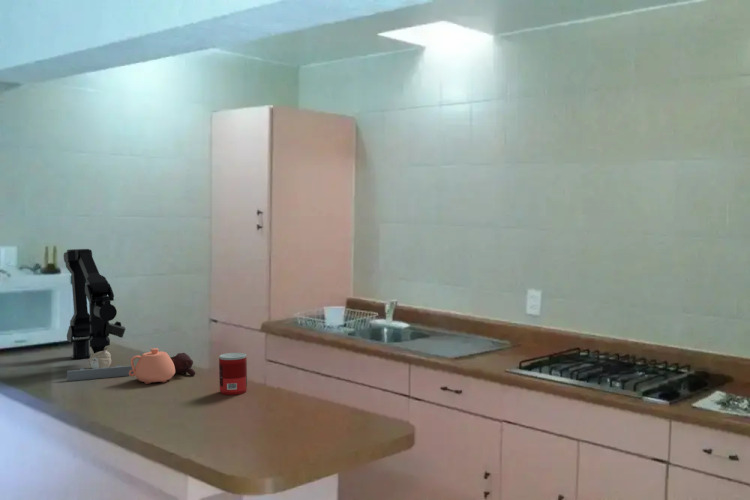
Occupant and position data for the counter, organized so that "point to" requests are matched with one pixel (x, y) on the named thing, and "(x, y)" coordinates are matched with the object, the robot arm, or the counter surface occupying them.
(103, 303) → the robot arm
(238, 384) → the canned food
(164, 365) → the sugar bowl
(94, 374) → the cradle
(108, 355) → the garlic bulb
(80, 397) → the counter surface
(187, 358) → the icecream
